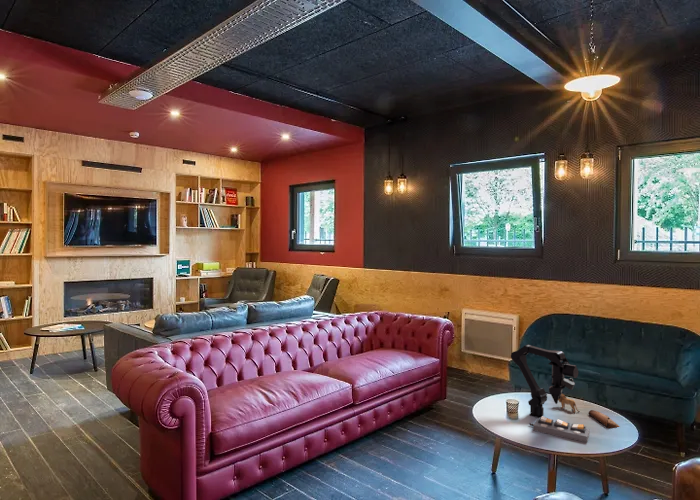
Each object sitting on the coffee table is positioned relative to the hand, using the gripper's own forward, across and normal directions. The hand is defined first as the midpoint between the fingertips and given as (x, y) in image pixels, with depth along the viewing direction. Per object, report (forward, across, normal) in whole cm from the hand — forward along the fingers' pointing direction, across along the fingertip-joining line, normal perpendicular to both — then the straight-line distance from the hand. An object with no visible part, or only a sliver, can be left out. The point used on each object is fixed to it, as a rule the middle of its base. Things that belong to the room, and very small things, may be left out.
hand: (557, 401), depth 255 cm
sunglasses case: (+13, +15, -22) cm, 30 cm away
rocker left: (+8, -12, +4) cm, 15 cm away
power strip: (+12, -14, -2) cm, 19 cm away
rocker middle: (+8, -12, -4) cm, 15 cm away
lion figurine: (+12, +23, -1) cm, 26 cm away
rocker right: (+8, -12, -12) cm, 19 cm away
